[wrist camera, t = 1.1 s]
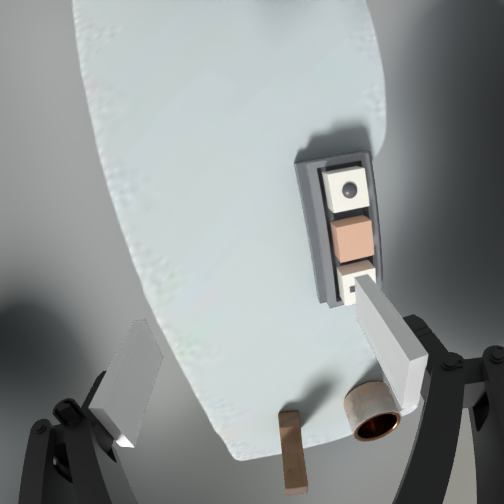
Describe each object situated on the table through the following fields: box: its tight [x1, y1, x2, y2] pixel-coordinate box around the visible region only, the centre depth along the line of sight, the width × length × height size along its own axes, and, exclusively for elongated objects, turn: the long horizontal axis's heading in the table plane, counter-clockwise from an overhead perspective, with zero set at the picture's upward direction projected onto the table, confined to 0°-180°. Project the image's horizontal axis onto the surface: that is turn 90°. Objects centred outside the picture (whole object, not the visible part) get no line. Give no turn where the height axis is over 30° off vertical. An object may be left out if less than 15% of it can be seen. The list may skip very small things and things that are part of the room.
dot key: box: [322, 166, 370, 213], centre depth 38 cm, size 5×5×3 cm
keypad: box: [294, 151, 383, 308], centre depth 43 cm, size 22×11×4 cm, turn 13°
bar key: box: [337, 260, 376, 306], centre depth 43 cm, size 5×5×3 cm
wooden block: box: [278, 411, 308, 495], centre depth 53 cm, size 9×4×18 cm, turn 7°
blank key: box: [330, 215, 374, 263], centre depth 40 cm, size 5×5×3 cm
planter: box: [344, 381, 401, 442], centre depth 54 cm, size 11×11×10 cm
